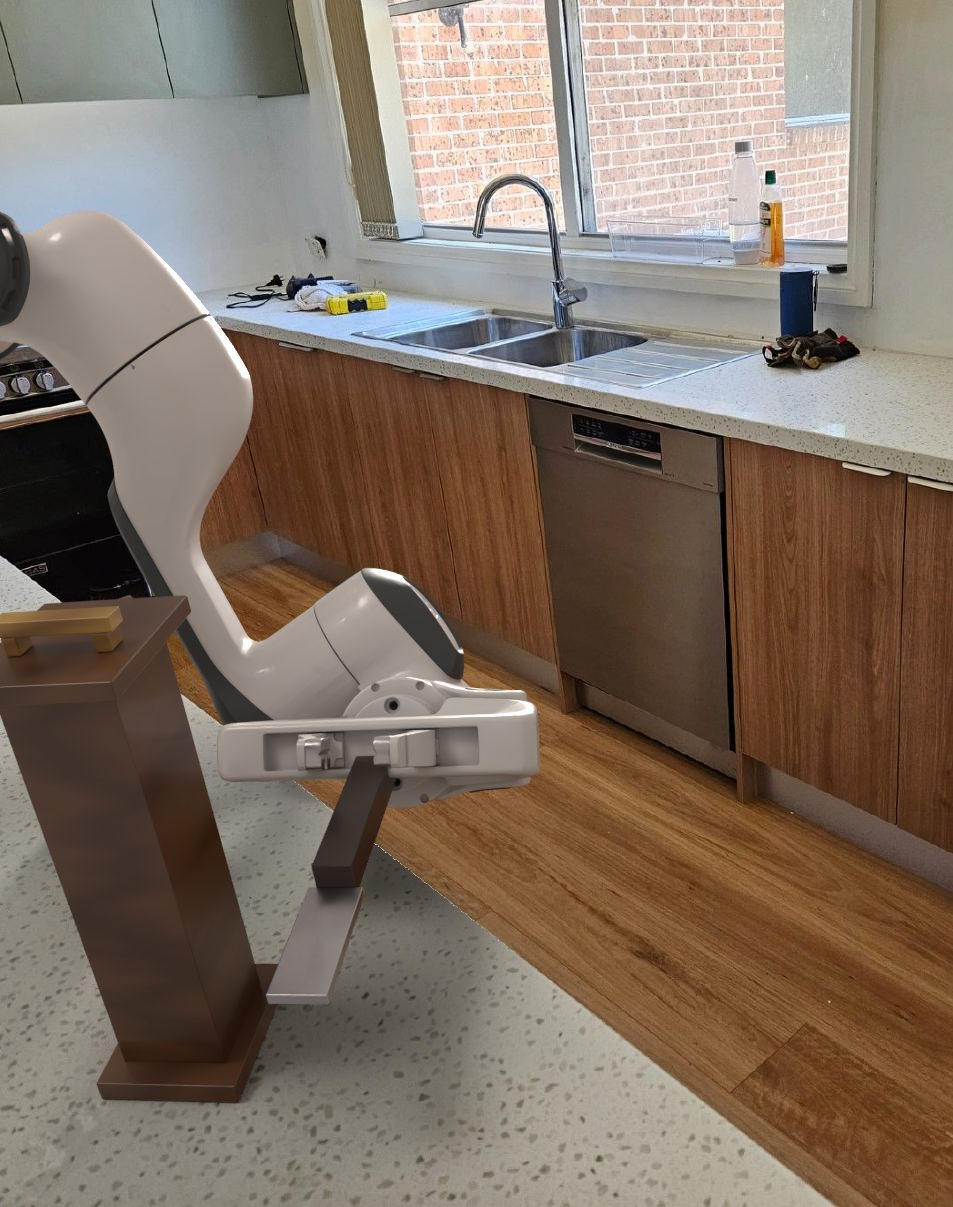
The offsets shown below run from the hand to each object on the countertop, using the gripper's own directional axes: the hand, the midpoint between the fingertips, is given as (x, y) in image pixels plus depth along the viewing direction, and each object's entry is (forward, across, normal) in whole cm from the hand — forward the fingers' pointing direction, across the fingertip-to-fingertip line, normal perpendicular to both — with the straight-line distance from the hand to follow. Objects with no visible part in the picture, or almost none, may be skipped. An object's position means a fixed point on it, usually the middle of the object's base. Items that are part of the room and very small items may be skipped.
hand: (346, 754), depth 60 cm
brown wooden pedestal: (-2, -10, +16) cm, 19 cm away
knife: (0, 0, +6) cm, 6 cm away
